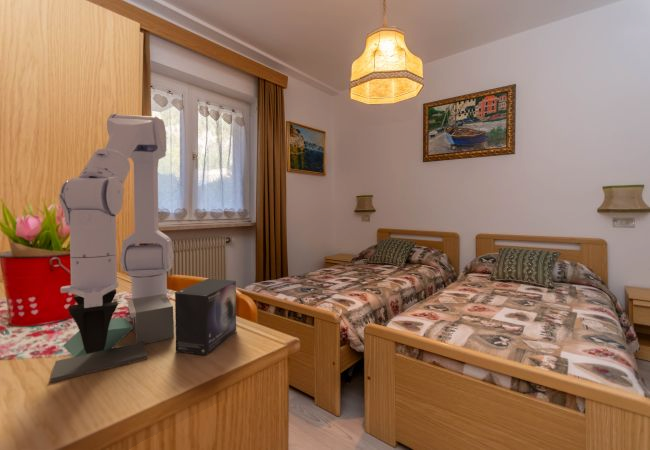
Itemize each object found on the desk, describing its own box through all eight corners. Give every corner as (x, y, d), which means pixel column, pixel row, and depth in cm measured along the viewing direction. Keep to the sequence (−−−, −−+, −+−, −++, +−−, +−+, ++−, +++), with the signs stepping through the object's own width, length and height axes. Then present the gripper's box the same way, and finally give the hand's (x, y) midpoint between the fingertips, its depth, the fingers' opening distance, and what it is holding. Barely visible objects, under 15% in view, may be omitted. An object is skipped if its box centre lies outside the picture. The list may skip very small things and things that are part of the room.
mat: (56, 364, 49) (55, 360, 49) (143, 344, 56) (143, 341, 56) (50, 382, 44) (50, 378, 44) (147, 358, 51) (147, 354, 51)
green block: (62, 345, 45) (91, 319, 46) (101, 339, 54) (124, 317, 56) (74, 357, 45) (102, 330, 46) (111, 348, 54) (134, 326, 55)
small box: (208, 356, 52) (206, 295, 51) (173, 352, 53) (171, 292, 52) (238, 330, 62) (237, 279, 61) (209, 328, 63) (207, 277, 63)
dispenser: (128, 328, 63) (127, 299, 62) (166, 321, 67) (165, 293, 66) (131, 346, 55) (130, 313, 55) (174, 337, 59) (172, 305, 58)
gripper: (65, 253, 52) (67, 334, 52) (53, 263, 40) (55, 368, 40) (116, 250, 56) (118, 326, 56) (119, 258, 44) (121, 354, 44)
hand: (95, 343), depth 48 cm, fingers closed on green block, 6 cm apart
